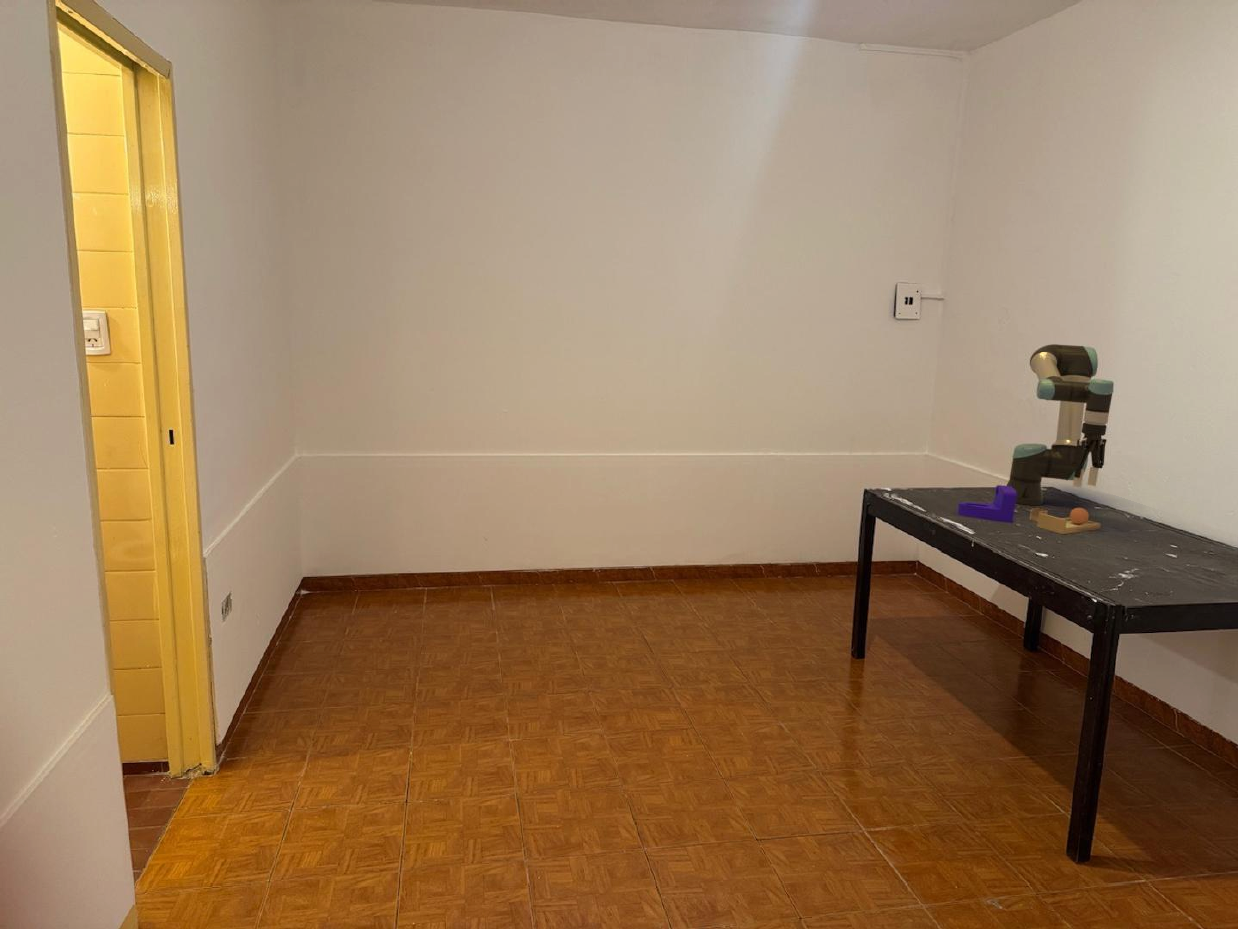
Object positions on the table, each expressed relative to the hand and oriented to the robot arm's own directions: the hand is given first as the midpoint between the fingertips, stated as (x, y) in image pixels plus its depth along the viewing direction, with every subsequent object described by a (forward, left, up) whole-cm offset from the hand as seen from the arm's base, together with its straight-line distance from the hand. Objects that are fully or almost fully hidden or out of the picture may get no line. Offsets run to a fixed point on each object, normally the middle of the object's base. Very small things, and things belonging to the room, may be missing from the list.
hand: (1084, 485), depth 310 cm
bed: (+5, 0, -15) cm, 16 cm away
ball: (0, 0, -11) cm, 11 cm away
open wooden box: (+7, -11, -15) cm, 20 cm away
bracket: (+24, -22, -16) cm, 36 cm away
